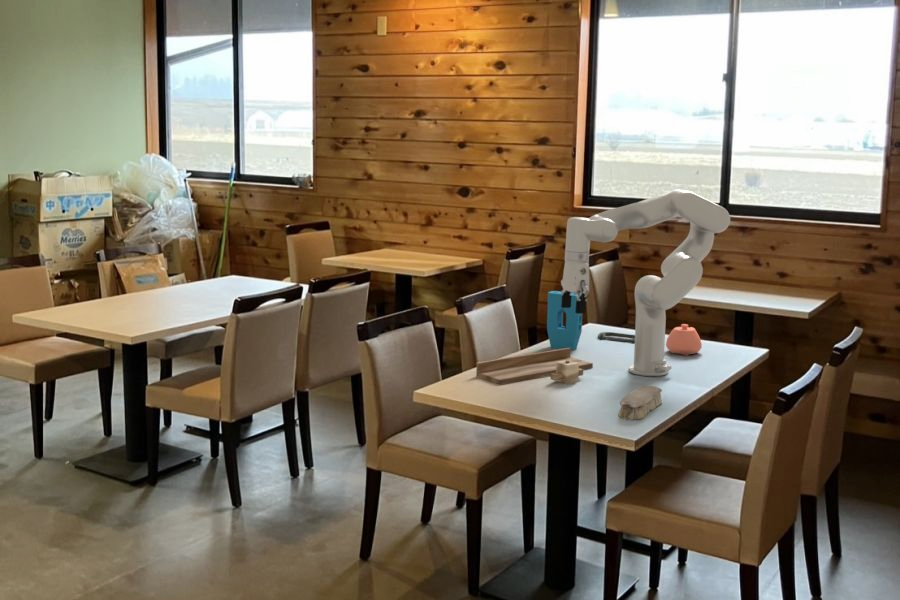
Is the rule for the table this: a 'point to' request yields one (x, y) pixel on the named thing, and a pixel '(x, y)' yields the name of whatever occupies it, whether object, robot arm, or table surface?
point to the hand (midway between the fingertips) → (572, 310)
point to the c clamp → (604, 334)
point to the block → (555, 327)
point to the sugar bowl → (684, 340)
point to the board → (525, 366)
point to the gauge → (567, 372)
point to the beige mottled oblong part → (640, 402)
